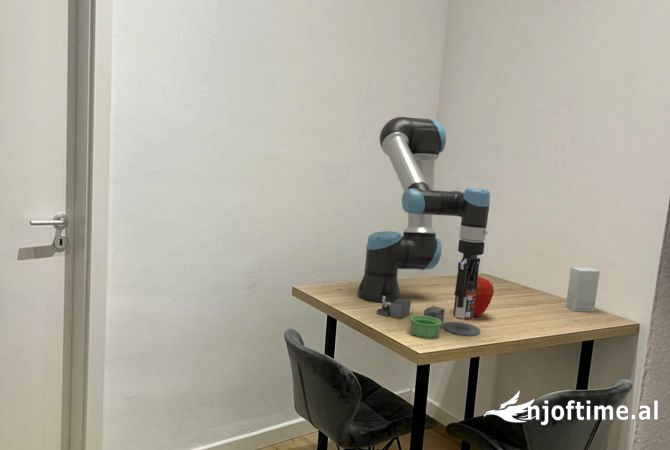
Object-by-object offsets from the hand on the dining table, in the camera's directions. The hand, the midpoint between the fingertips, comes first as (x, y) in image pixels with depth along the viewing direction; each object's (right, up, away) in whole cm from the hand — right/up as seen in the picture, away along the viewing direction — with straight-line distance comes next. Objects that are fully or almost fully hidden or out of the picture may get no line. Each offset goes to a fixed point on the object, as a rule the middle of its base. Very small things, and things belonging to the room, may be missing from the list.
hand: (463, 315), depth 179 cm
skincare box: (+51, -4, +39) cm, 64 cm away
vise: (-15, -2, +9) cm, 18 cm away
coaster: (0, -5, +1) cm, 5 cm away
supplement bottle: (0, -1, 0) cm, 1 cm away
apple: (+7, -3, +19) cm, 20 cm away
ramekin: (-13, -5, -6) cm, 15 cm away
